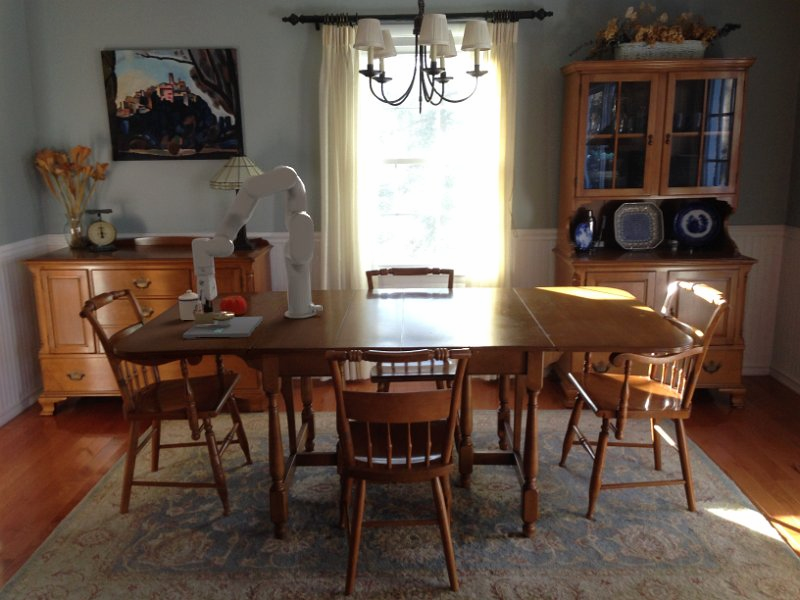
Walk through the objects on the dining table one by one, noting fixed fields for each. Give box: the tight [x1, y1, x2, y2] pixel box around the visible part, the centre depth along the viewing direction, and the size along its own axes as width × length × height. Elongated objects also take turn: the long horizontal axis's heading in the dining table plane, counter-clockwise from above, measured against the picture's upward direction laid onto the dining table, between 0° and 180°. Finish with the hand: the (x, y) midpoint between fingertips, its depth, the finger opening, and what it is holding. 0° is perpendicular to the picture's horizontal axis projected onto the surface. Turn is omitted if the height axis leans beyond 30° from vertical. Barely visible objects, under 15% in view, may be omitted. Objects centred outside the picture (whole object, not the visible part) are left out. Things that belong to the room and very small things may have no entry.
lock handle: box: [194, 311, 235, 324], centre depth 256 cm, size 14×8×4 cm, turn 89°
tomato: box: [219, 295, 248, 317], centre depth 278 cm, size 11×11×8 cm
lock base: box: [182, 316, 264, 339], centre depth 257 cm, size 24×24×4 cm
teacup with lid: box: [177, 289, 203, 321], centre depth 275 cm, size 12×9×12 cm
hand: (208, 316), depth 262 cm, fingers closed
